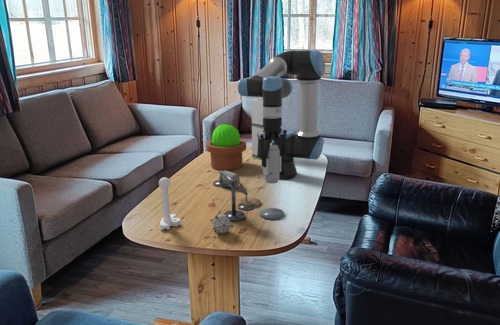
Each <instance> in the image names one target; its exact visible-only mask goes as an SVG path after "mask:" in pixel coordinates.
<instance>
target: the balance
mask: <svg viewBox="0 0 500 325" xmlns="http://www.w3.org/2000/svg"><path fill="white" fill-rule="evenodd" d="M223 171H224V170H219V177H220V180H219V179H216V180H215V181H213V182H212V186H214V187H215V188H226V186H229V185H231V187H230V188H231V190H230V191H231V210H228V211H225V212H224V213H223V214H224V215H227V216H228V215H229V216H228V217H229V218H230V217H231V218H230V221H231V223H235V222H236V223H237V222H241V221H243V220H245V218H246V214H245V212H251V211H254V210H255V209H256V207H255V204H253V203H252V200H250V199H248V192H247V191H246V190H245V189H244V188H242V187H241V186H240V184H237V180H236V179H231V178H230V177H229V176H228V175H227V174H225V173H224V172H223ZM222 175H223V176H224V177H226V178H227V179H228V180H229V181H227V180H222ZM235 186H236V187H235ZM236 188H237V189H238V190H239V191H240V192H241V193H242V194H244V196H245V198H246V199H242V198H241V199H242V200H241V203H240V204H239V205H238V204H237V202H236V199H237V198H236ZM237 209H238V210H237Z"/></svg>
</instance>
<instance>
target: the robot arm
mask: <svg viewBox="0 0 500 325" xmlns="http://www.w3.org/2000/svg"><path fill="white" fill-rule="evenodd" d="M325 62H326V61H325V57H324V54H323V53H322V52H321V51H319V50H314V49H313V50H311V49H309V50H305V49H303V50H302V49H301V50H286V51H284V52H281V53H279V54H276V55H274V56H273V57H272V58H270V59H269V61H268V63H267V64H266V65H265V66H263V67H262V68H261V69H260V70H259V71H257V72H256V73H255V74H253V75H252V76H251V77H249V78H248V77H245V78H240V79H239V80H238V82H237V91H238V94H239V96H241V97H247V98H263V116H264V117H263V127H264V130H263V132H262V133H261V134H259V133H258V134H257V137H258V154H257V157H258V158H261V159H262V160H261V167H262V174H263V175H264V176H265V175H269V159H267V156H268V152H269V148H270V145H278V148H279V150H280V170H279V180H290V179H294V178H296V177H298V176H297V174H298V172H297V168H296V165H295V162H294V160H295V159H296V158H297V159H304V160H318V159H319V158H320V157H321V155H322V152H323V148H324V142H325V141H324V140H325V139H324V137H323V136H321V132H320V131H319V130H318V85H319V84H318V83H319V82H320V81H321V79H322V77H323V76H324V75H325V72H326V63H325ZM287 75H288V76H296V80H297V81H298V82H299V130H298V131H297V132H296V134H295V132H294V131H293V130H287V129H284V128H281V127H282V126H283V119H282V115H283V109H282V108H283V99H285V98H287V97H288V96H290V95H291V94H292V92H293V88H294V87H293V83H292V82H291V80H290V79H287V78H282V77H283V76H287ZM264 136H265V137H264Z"/></svg>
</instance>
